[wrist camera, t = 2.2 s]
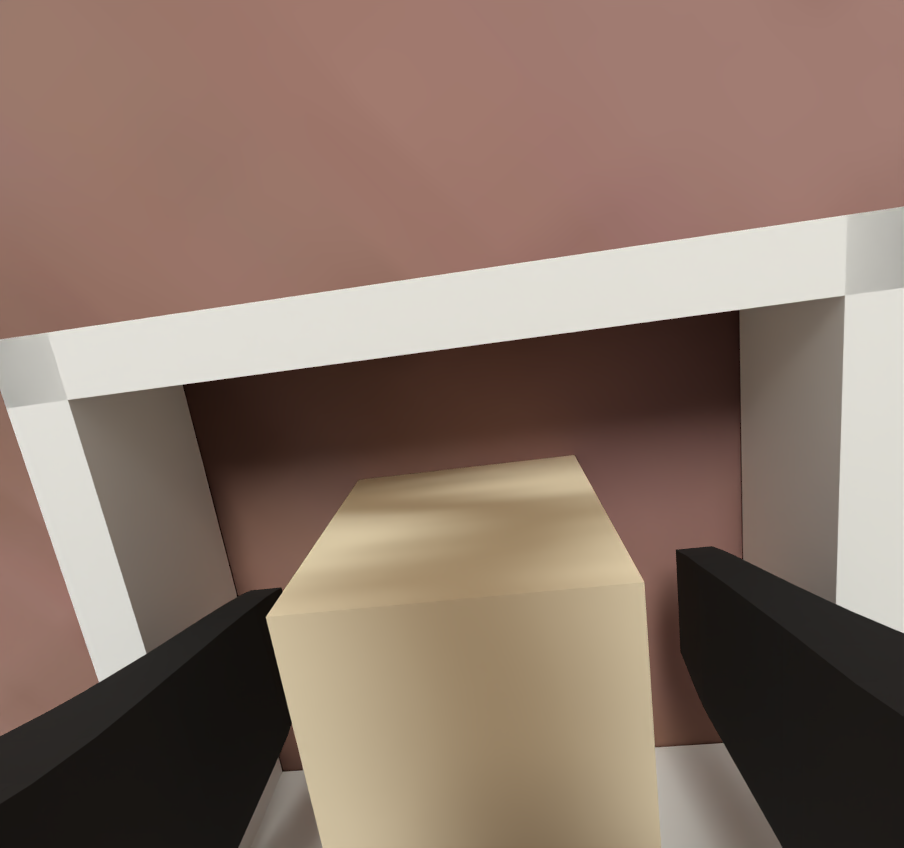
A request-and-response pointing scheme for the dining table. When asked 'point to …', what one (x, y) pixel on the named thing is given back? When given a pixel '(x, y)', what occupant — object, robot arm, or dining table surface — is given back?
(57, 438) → the box
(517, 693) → the wood block
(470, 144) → the dining table surface
